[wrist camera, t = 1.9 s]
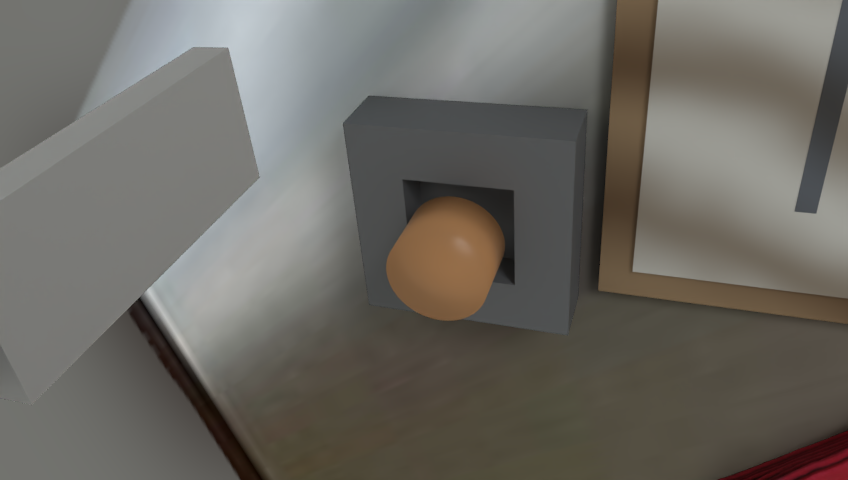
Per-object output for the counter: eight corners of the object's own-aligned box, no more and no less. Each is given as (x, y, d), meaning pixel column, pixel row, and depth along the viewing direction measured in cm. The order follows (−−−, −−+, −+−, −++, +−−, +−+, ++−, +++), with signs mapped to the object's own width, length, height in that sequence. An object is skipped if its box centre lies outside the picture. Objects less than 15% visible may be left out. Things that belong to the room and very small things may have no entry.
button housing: (368, 95, 35) (342, 123, 33) (587, 109, 32) (575, 141, 30) (389, 270, 41) (369, 304, 38) (578, 296, 38) (568, 335, 35)
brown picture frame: (634, -240, 25) (631, -239, 24) (1255, -285, 20) (1278, -284, 19) (599, 282, 37) (596, 296, 36) (985, 333, 32) (992, 350, 31)
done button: (405, 191, 33) (381, 228, 31) (504, 201, 32) (486, 240, 30) (413, 272, 36) (391, 312, 33) (505, 285, 34) (489, 327, 32)
